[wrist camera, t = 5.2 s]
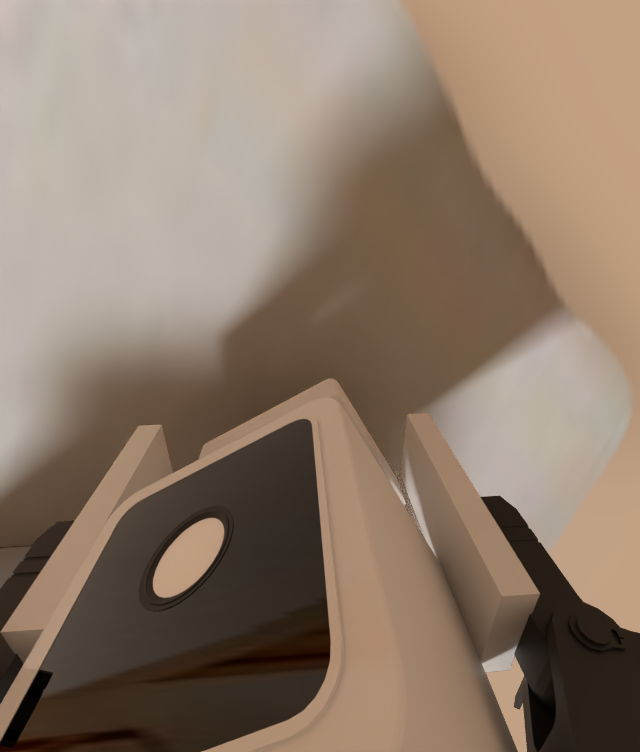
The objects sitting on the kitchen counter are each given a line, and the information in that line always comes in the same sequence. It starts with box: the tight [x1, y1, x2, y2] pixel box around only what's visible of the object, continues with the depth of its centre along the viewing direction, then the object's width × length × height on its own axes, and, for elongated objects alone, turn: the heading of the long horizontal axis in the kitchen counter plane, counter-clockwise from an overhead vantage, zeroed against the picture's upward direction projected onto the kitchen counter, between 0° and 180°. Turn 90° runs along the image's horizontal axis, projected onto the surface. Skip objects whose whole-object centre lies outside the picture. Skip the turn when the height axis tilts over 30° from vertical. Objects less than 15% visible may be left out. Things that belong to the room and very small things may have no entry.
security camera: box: [0, 378, 518, 752], centre depth 9 cm, size 6×7×10 cm
